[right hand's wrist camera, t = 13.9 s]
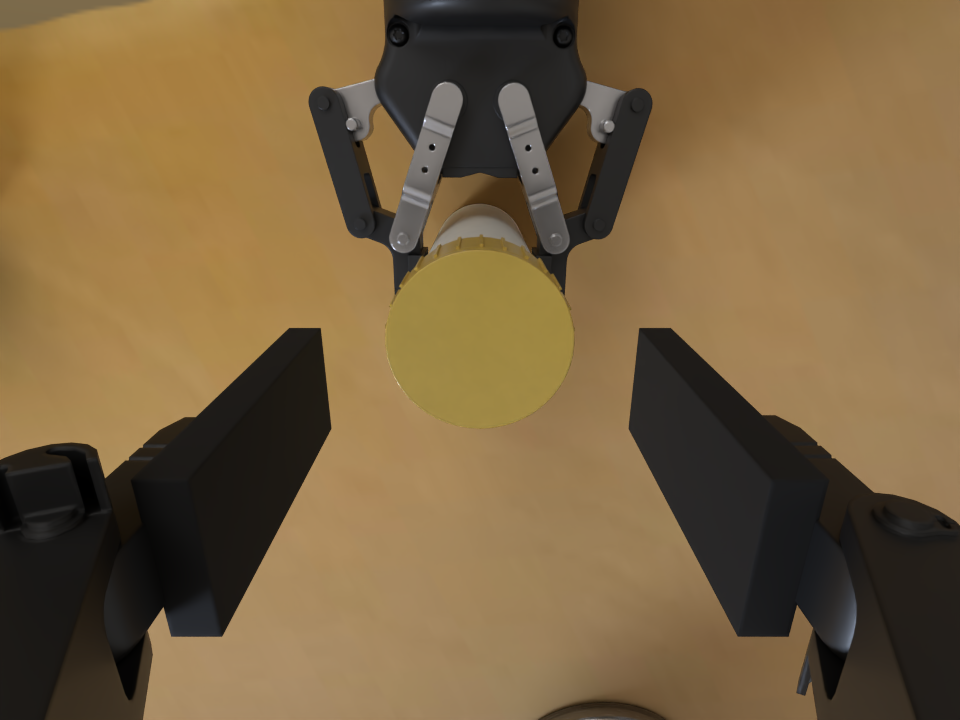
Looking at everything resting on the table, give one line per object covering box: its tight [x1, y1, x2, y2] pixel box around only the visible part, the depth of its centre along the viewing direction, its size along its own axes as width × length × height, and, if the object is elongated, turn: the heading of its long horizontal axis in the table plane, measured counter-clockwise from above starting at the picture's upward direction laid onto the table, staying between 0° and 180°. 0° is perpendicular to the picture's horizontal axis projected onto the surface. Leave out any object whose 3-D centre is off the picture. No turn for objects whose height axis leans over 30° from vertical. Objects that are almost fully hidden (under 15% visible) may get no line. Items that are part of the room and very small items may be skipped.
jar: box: [429, 204, 530, 253], centre depth 24 cm, size 5×5×16 cm
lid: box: [385, 234, 575, 429], centre depth 18 cm, size 6×6×2 cm
